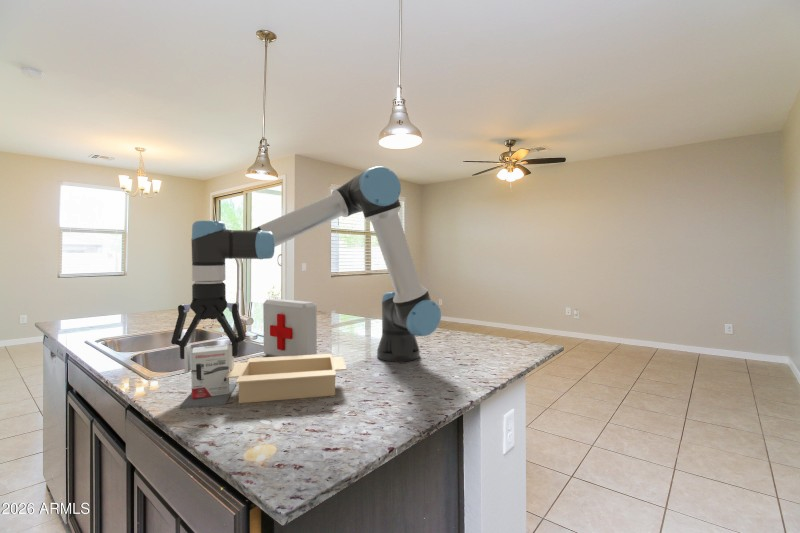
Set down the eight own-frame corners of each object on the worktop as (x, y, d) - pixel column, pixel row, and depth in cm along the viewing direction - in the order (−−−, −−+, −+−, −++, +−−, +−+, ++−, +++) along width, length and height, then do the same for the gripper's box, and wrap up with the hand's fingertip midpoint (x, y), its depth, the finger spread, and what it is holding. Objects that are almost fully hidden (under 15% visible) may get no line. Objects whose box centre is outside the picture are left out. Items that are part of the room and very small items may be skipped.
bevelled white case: (259, 356, 133) (258, 300, 133) (277, 351, 140) (277, 298, 140) (301, 365, 122) (301, 304, 122) (318, 360, 129) (318, 302, 128)
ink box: (191, 400, 92) (190, 352, 91) (191, 393, 96) (191, 347, 96) (229, 394, 96) (229, 348, 95) (228, 388, 100) (227, 343, 100)
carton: (341, 374, 114) (341, 352, 114) (348, 399, 94) (348, 373, 94) (238, 381, 107) (238, 358, 107) (222, 410, 87) (221, 382, 87)
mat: (236, 385, 104) (236, 383, 104) (226, 404, 91) (225, 401, 91) (196, 388, 101) (196, 386, 101) (180, 407, 89) (180, 405, 89)
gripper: (257, 280, 101) (257, 363, 102) (165, 281, 96) (166, 368, 97) (253, 282, 94) (253, 371, 95) (154, 283, 89) (155, 377, 90)
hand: (209, 369), depth 96 cm, fingers open, 9 cm apart
